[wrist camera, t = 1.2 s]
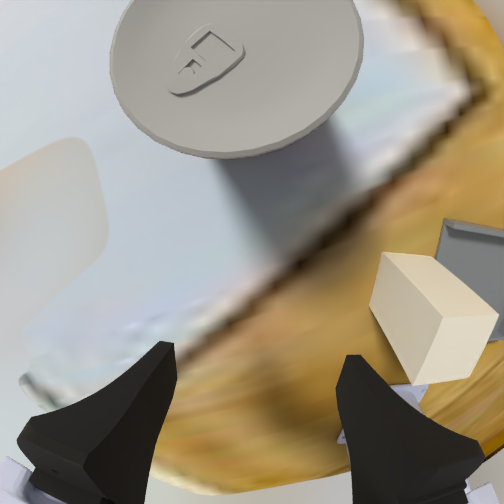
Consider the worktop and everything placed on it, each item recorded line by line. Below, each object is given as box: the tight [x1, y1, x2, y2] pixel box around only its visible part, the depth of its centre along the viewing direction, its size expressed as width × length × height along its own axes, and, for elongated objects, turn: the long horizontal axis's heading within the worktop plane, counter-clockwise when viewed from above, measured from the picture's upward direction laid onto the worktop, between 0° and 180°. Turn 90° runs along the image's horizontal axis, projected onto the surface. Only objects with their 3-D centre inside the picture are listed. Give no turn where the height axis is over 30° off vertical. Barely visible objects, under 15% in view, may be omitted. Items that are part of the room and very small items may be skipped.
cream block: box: [369, 252, 499, 386], centre depth 17 cm, size 4×4×9 cm
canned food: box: [110, 0, 364, 160], centre depth 12 cm, size 8×8×11 cm
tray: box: [435, 218, 504, 342], centre depth 20 cm, size 11×12×2 cm
